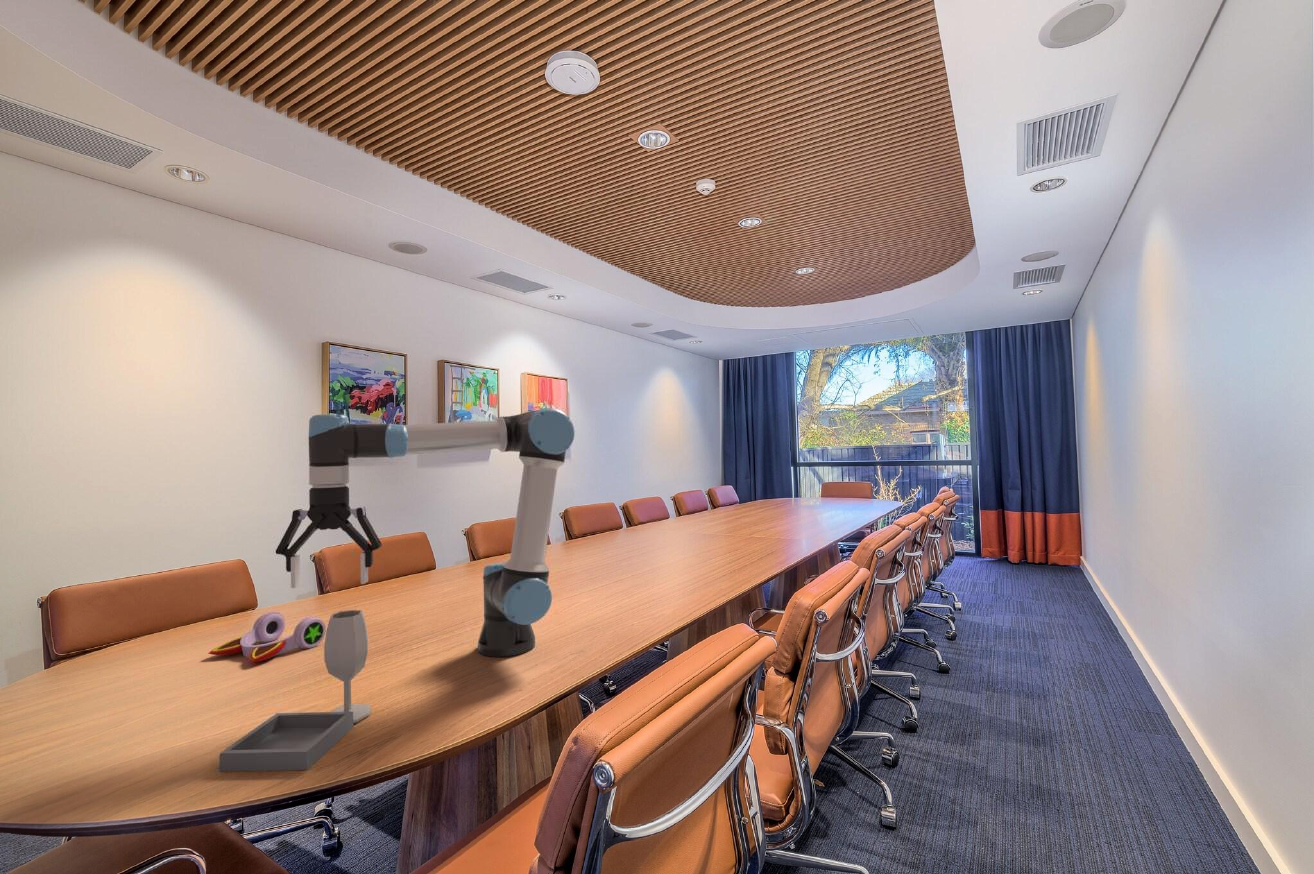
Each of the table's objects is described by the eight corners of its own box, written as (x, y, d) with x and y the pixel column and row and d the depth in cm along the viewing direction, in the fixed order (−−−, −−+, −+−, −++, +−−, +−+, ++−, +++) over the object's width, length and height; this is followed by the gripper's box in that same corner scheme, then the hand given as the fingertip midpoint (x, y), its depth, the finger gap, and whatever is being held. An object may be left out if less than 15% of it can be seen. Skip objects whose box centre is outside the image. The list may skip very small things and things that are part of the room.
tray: (353, 727, 115) (353, 711, 115) (307, 769, 100) (307, 751, 100) (277, 729, 115) (276, 713, 115) (219, 771, 100) (219, 753, 100)
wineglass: (335, 709, 123) (334, 608, 123) (378, 706, 124) (376, 607, 124) (314, 728, 114) (313, 621, 115) (361, 726, 115) (359, 619, 116)
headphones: (328, 615, 167) (258, 627, 149) (325, 651, 166) (254, 667, 147) (281, 609, 174) (209, 620, 156) (277, 643, 173) (204, 658, 155)
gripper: (395, 483, 133) (396, 577, 132) (272, 486, 128) (273, 584, 127) (386, 485, 125) (388, 584, 125) (256, 489, 120) (257, 592, 120)
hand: (330, 584), depth 126 cm, fingers open, 13 cm apart
